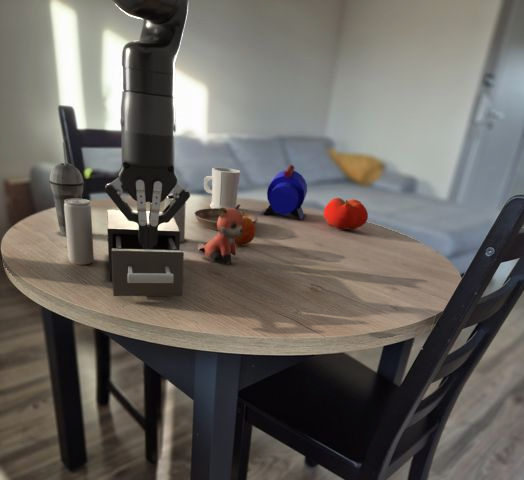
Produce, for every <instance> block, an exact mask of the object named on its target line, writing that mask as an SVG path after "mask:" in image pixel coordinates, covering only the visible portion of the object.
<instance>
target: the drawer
mask: <svg viewBox="0 0 524 480" xmlns="http://www.w3.org/2000/svg"><path fill="white" fill-rule="evenodd" d="M184 254H185V252H184V250H183V249H182V250H181V249H180V250H177V248H176V246H175V243H174V241H173V238H172V236H160V235H158V243H157V245H156V246H153V249H144V248H143V245H140V243H139V235H130V234H116V249H112V275H113V281H112V294H113V295H112V296H113V297H182V296H183V285H184V282H183V281H184V280H183V279H184Z"/></svg>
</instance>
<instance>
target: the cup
mask: <svg viewBox="0 0 524 480" xmlns="http://www.w3.org/2000/svg"><path fill="white" fill-rule="evenodd" d="M240 178H241V170H239V169H235V168H229V167H212V168H211V175H207V176H205V177H204V178H203V190H204V191H205V192H206V193H207V194H211V202H210V203H209V208H221V207H223V208H225V209H228V208H232V209H233V208H235V207H236V206H237V205H238V204H237V203H238V194H239V193H238V192H239V185H240ZM210 181H211V187H212V188H211V187H210V186H209V182H210Z"/></svg>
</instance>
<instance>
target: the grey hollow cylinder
mask: <svg viewBox="0 0 524 480" xmlns="http://www.w3.org/2000/svg"><path fill="white" fill-rule="evenodd" d="M173 199H174V197H173V194H169V195H168V196H167V197H166V198H165V208H166V207H167V206H168V204H169V203H170V202H171V201H172V200H173ZM186 202H187V201H186ZM186 202H185V203H184V205H183V206H182V207H181V208H180V209H179V210H178V212H177V213H176V214H175V215H174V216H173V217H174V220H175V222H176V224H177V226H178V228H179V230H180V243H184V242H185V238H186V237H185V235H186V234H185V233H186V205H187V204H186Z"/></svg>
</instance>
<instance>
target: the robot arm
mask: <svg viewBox="0 0 524 480" xmlns="http://www.w3.org/2000/svg"><path fill="white" fill-rule="evenodd" d="M111 1H112V2H113V4H114V5H115V6H116V7H118V8H119V9H120V10H121V11H122V12H124V13H125V14H126V15H128V16H130V17H133V18H136V19H141V20H143V23H142V29H141V32H140V36H139V39H138V40H132V41H129V42H127V43H126V44H125V45H124V46H123V48H122V51H121V82H122V83H121V87H122V88H121V89H122V94H121V104H120V131H121V132H120V133H121V134H120V138H121V140H120V141H121V142H120V144H121V147H120V148H121V167H120V169H119V172H118V173H117V174H118V177H117V178H115V179H114V180H113V181H112V182H107V183H106V184H105V188H104V191H105V194H107V196H108V197H109V198H110V199H111V201H112V202H113V203H114V205H115V206H116V207H117V208H118V210H120V211H121V212H122V213H123V214H124V216H125V217H126V218H127V220H129V221H133V222H136V223H137V224H138V225H139V243H140V245H143V248H144V249H153V246H156V245H157V243H158V226H159V225H160V224H162V223H168V222H169V221H170V220H171V219H172V218H173V216H174V215H175V214H176V213H177V212H178V210H179V209H180V208H181V207H182V206H183V205H184V203H185V202H187V201H188V200H189V199H190V198H191V194H190V192H189V190H188V189H187V188H186V187H183V186H182V185H181V184H180V183H179V182H178V177H177V174H176V171H175V154H176V153H175V152H176V151H175V150H176V131H177V123H176V120H177V119H176V118H177V117H176V105H175V103H176V102H175V93H176V91H175V89H176V62H177V57H178V54H179V51H180V47H181V45H182V44H181V43H182V40H183V34H184V31H185V27H186V22H187V17H188V12H189V0H111ZM122 186H123V188H124V189H125V190H126V192H127V193H128V194H129V196H130V197H131V199H133V201H135V202H136V210H133V209H132V207H131V206H130V205H129V203H128V201H126V199H125V198H124V197H123V196H122V195H123V193H124V191H123V188H122ZM171 192H172V195H173V197H174V199H173V200H172V201H171V202H170V203H169V204H168V206H167V207H166V206H165V207H164V209H163V210H162V211H160V210H161V203H163V202H164V201H166V197H167V196H168V195H170V193H171ZM147 203H149V211H150V213H149V223H147V217H146V211H147ZM135 211H137V212H138V213H137V212H135ZM159 212H162V213H159Z"/></svg>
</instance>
